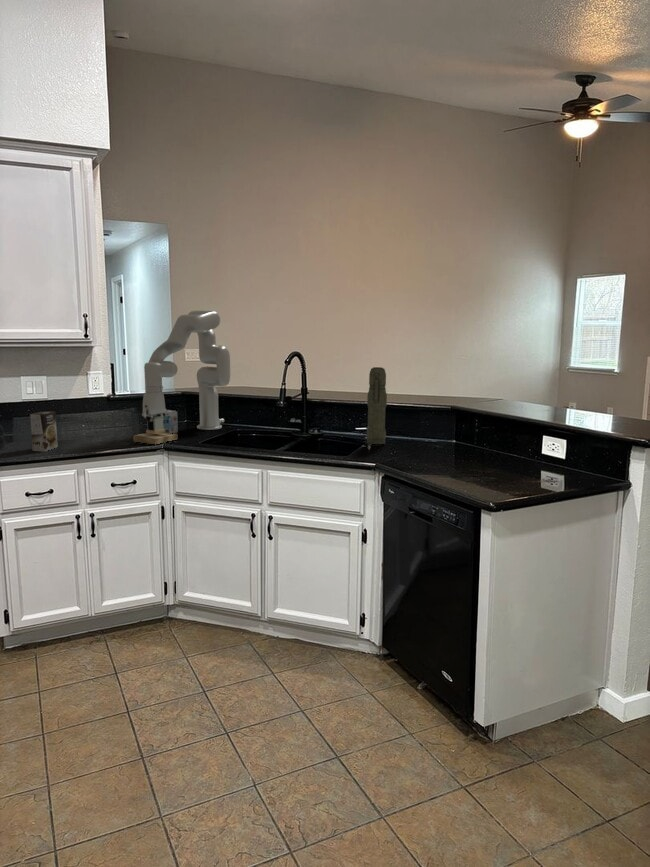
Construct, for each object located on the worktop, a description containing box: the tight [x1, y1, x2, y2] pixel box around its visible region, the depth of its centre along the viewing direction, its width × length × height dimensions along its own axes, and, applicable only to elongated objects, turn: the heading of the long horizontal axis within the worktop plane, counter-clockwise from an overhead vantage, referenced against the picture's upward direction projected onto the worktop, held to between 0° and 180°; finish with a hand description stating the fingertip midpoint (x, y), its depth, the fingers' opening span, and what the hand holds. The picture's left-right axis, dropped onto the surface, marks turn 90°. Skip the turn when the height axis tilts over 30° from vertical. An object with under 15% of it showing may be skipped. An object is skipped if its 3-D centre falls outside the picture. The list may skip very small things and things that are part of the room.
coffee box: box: [30, 410, 58, 453], centre depth 276 cm, size 9×6×16 cm
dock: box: [132, 432, 179, 446], centre depth 297 cm, size 14×14×3 cm
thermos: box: [365, 366, 388, 445], centre depth 294 cm, size 9×12×35 cm
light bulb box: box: [153, 409, 179, 434], centre depth 316 cm, size 11×7×11 cm, turn 143°
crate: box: [145, 416, 165, 434], centre depth 295 cm, size 6×6×7 cm
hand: (155, 428), depth 296 cm, fingers closed on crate, 4 cm apart
